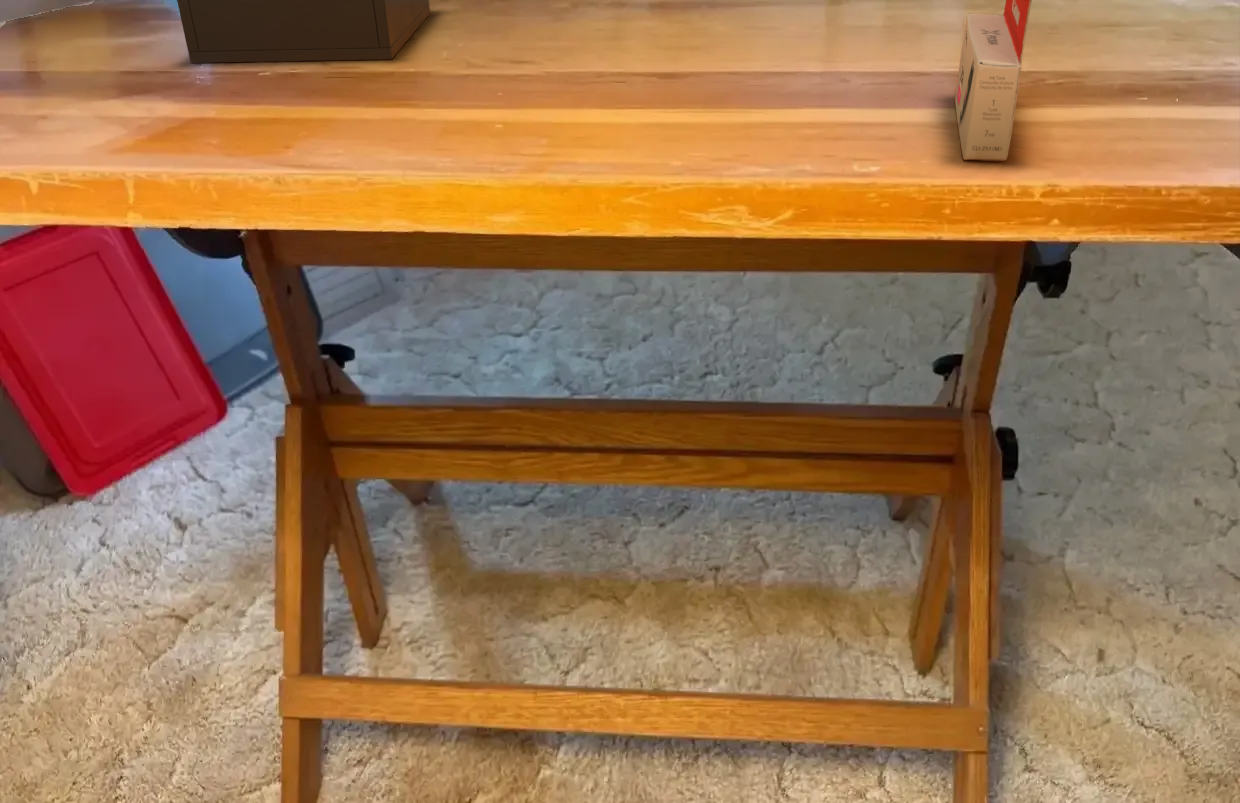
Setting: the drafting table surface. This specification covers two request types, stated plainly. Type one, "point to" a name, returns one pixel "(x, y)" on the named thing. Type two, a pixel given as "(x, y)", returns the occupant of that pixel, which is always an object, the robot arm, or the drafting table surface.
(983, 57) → the ink box
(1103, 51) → the drafting table surface
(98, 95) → the drafting table surface
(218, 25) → the bin
